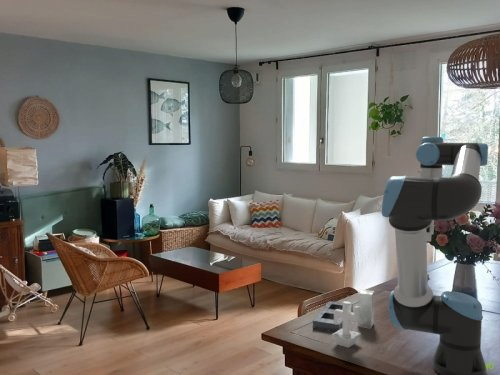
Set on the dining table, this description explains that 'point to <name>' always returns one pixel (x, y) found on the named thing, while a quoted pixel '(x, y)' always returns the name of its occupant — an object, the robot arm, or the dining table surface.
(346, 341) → the figurine
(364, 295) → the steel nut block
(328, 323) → the dark grey flat block
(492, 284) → the dining table surface
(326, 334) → the dining table surface
